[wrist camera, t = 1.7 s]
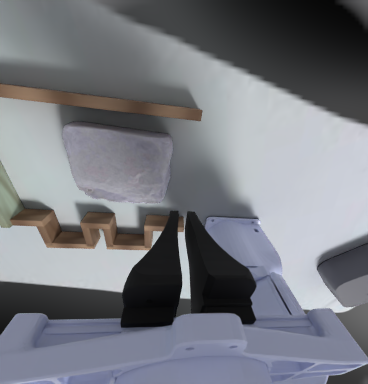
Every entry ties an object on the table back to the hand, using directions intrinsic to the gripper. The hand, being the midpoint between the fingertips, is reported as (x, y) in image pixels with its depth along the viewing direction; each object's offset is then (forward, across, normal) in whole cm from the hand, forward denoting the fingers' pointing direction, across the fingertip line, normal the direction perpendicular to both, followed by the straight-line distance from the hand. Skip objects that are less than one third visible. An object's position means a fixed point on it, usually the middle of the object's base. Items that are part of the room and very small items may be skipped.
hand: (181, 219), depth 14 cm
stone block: (+10, +7, -1) cm, 12 cm away
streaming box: (+10, -44, +20) cm, 49 cm away
